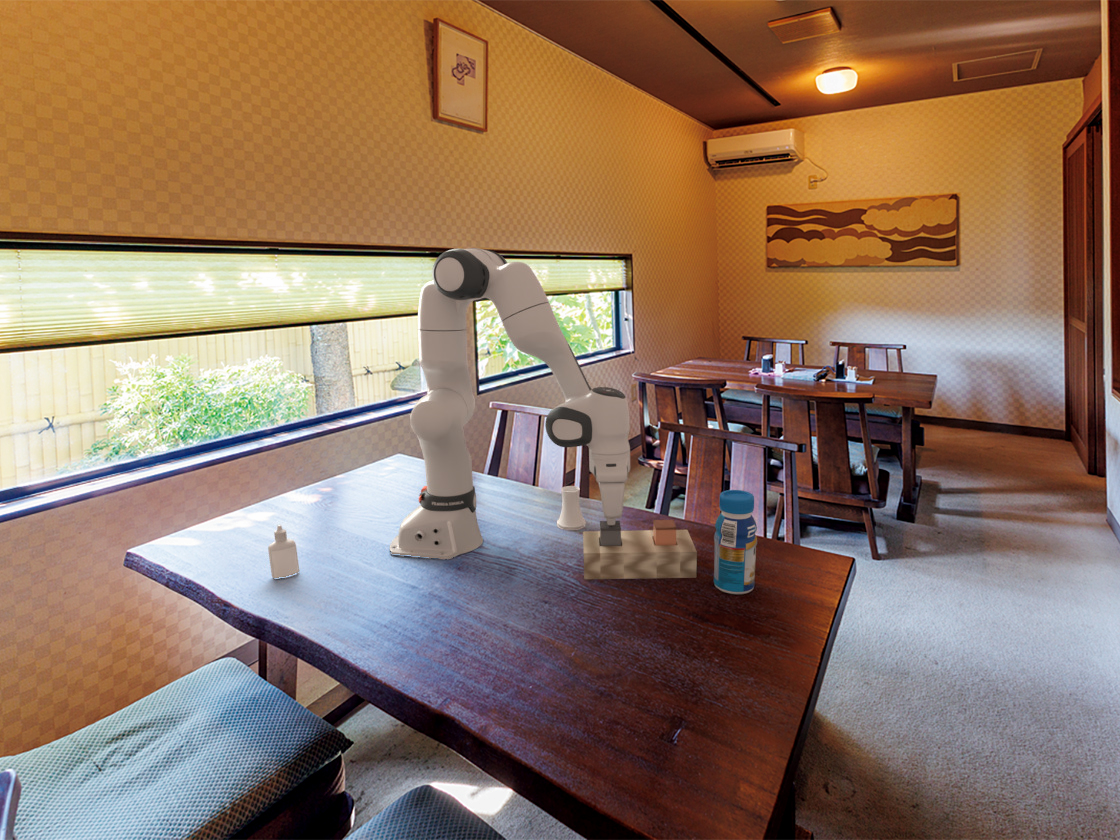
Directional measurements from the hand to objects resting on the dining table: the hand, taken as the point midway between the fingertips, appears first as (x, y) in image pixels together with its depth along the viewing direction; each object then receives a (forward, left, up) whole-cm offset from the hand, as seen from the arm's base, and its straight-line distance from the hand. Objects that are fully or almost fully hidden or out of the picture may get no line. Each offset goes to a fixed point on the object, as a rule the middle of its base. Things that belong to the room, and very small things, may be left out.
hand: (610, 522), depth 139 cm
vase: (-9, +25, -11) cm, 29 cm away
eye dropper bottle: (-73, -2, -11) cm, 74 cm away
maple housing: (+6, 0, -10) cm, 12 cm away
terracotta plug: (+12, 0, -6) cm, 13 cm away
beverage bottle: (+25, -10, -11) cm, 29 cm away
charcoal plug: (0, 0, -6) cm, 6 cm away
